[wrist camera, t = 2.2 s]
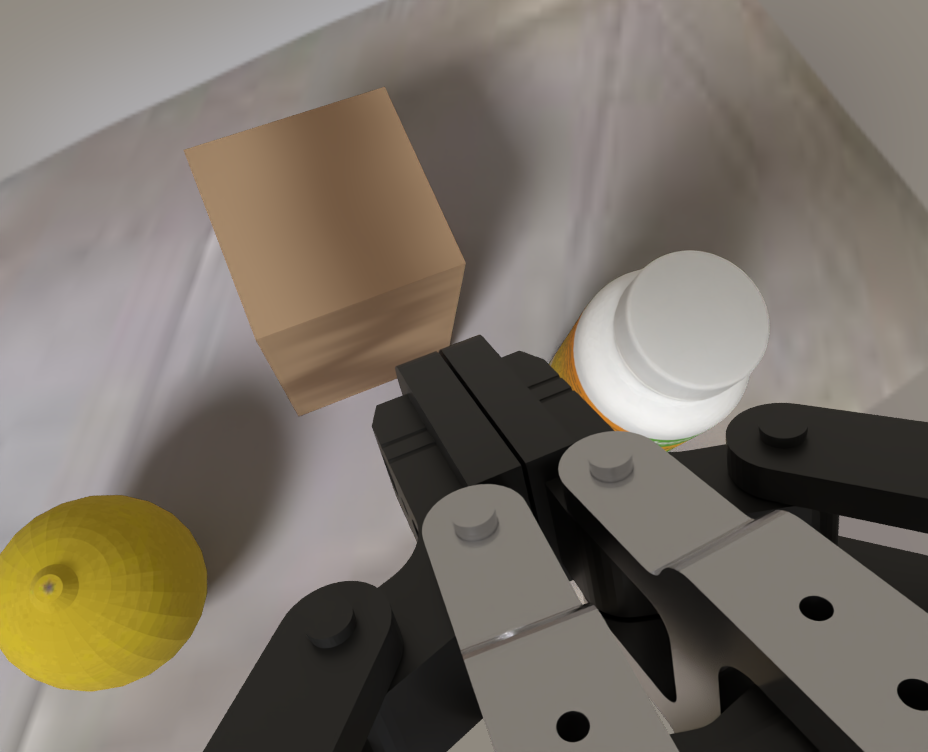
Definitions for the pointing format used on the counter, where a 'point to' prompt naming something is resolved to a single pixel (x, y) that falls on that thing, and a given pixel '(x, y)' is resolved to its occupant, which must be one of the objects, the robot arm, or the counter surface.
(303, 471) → the counter surface
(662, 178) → the counter surface
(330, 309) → the brown wooden block
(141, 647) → the lemon
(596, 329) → the supplement bottle
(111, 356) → the counter surface
